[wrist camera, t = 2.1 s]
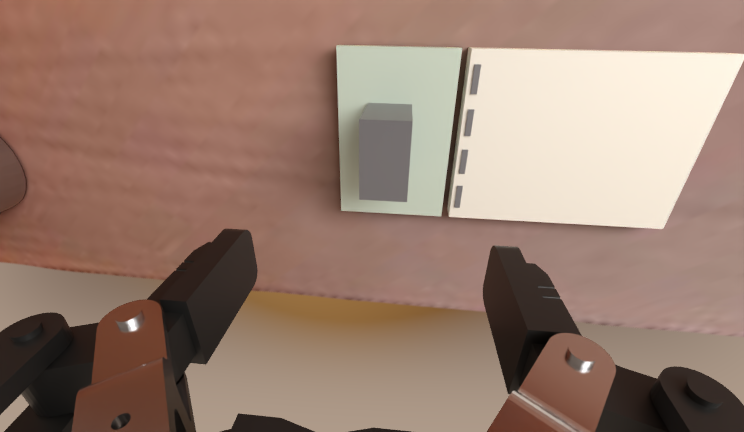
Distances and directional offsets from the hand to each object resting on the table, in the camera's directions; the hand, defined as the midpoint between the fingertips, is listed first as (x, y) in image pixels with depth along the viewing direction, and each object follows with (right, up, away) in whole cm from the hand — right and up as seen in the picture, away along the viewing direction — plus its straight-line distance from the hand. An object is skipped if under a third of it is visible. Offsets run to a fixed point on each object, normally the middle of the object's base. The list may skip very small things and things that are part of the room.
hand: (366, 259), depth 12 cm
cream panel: (+14, +7, +14) cm, 21 cm away
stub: (+2, +8, +14) cm, 16 cm away
